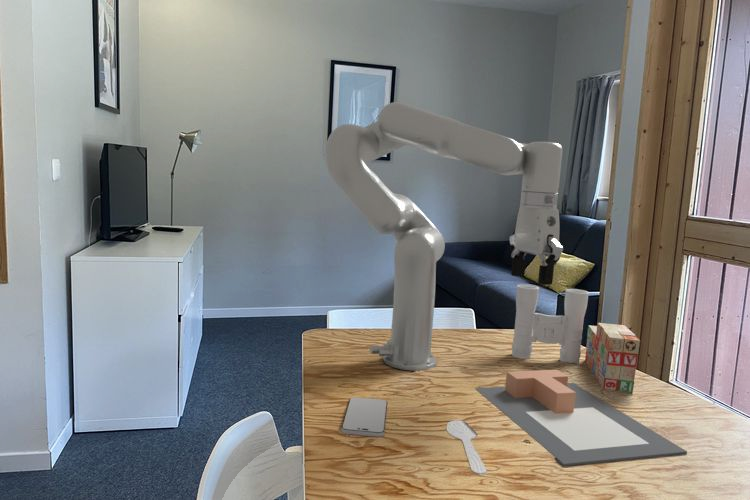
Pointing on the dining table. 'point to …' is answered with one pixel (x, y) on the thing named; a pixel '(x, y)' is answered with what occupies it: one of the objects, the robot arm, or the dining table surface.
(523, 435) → the dining table surface
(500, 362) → the dining table surface
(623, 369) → the stack of blocks
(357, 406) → the smartphone
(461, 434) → the spoon
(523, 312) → the binoculars
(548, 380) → the t block
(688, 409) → the dining table surface
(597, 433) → the mat
